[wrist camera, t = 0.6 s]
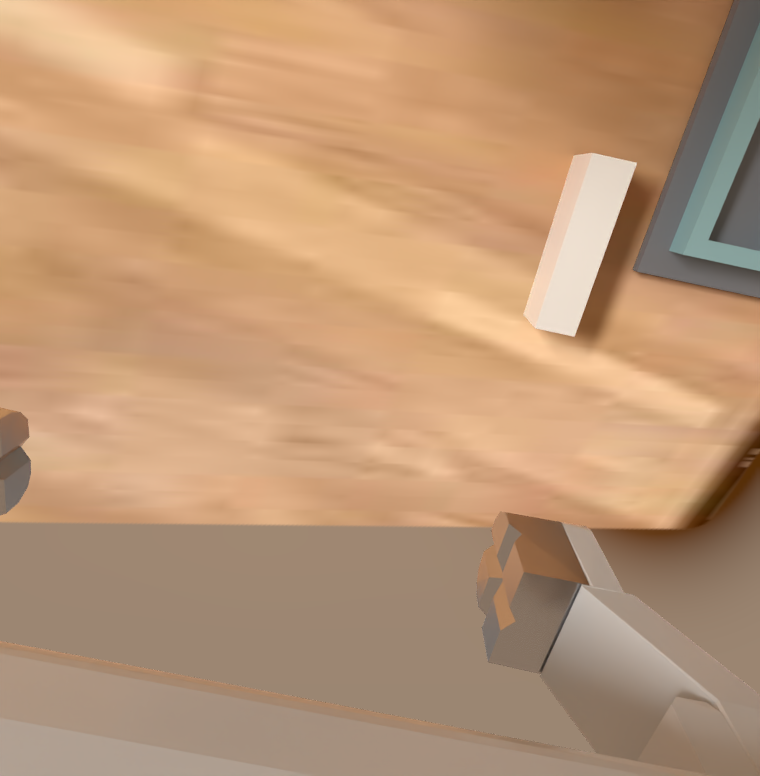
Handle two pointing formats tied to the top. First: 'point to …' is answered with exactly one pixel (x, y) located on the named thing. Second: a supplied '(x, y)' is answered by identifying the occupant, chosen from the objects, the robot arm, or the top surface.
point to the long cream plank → (577, 241)
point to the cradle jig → (716, 174)
